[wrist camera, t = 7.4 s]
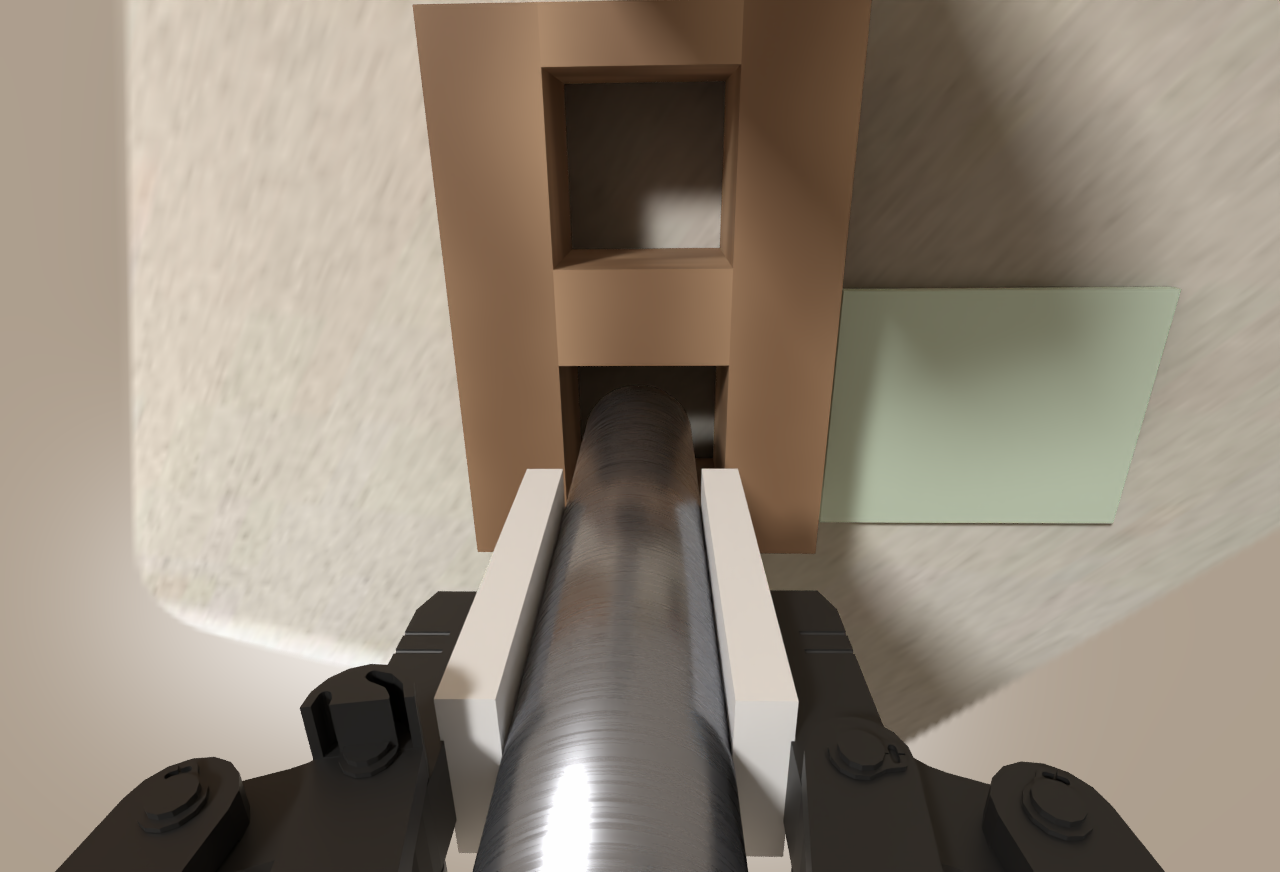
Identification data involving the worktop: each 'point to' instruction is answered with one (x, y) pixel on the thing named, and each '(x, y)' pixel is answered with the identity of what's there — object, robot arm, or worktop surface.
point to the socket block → (646, 278)
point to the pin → (622, 672)
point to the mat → (989, 402)
